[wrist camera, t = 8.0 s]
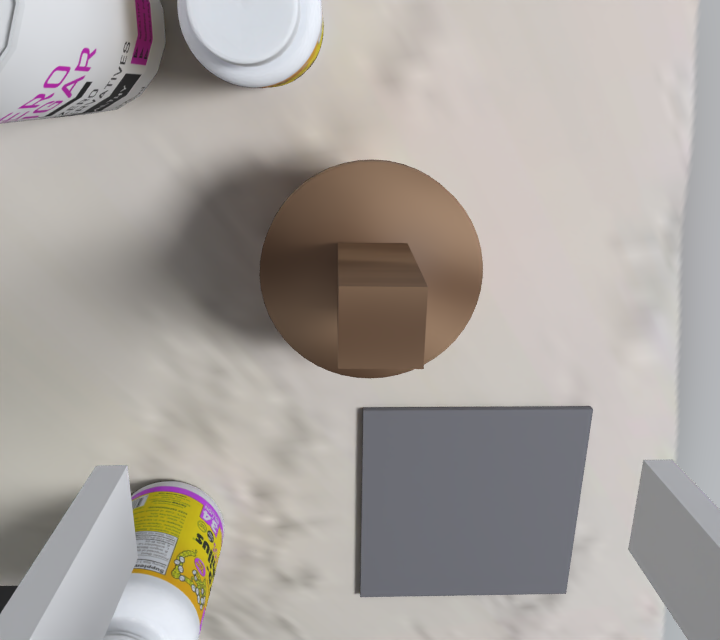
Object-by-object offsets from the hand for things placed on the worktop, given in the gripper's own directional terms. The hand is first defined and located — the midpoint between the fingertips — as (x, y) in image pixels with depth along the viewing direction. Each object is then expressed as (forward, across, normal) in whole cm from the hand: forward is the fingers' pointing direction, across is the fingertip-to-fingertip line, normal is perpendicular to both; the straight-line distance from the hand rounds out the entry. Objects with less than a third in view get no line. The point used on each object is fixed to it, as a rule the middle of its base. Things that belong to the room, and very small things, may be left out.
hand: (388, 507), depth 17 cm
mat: (+22, -7, +15) cm, 27 cm away
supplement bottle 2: (+21, +5, -13) cm, 26 cm away
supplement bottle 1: (+22, +12, +16) cm, 29 cm away
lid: (+16, 0, -2) cm, 17 cm away
